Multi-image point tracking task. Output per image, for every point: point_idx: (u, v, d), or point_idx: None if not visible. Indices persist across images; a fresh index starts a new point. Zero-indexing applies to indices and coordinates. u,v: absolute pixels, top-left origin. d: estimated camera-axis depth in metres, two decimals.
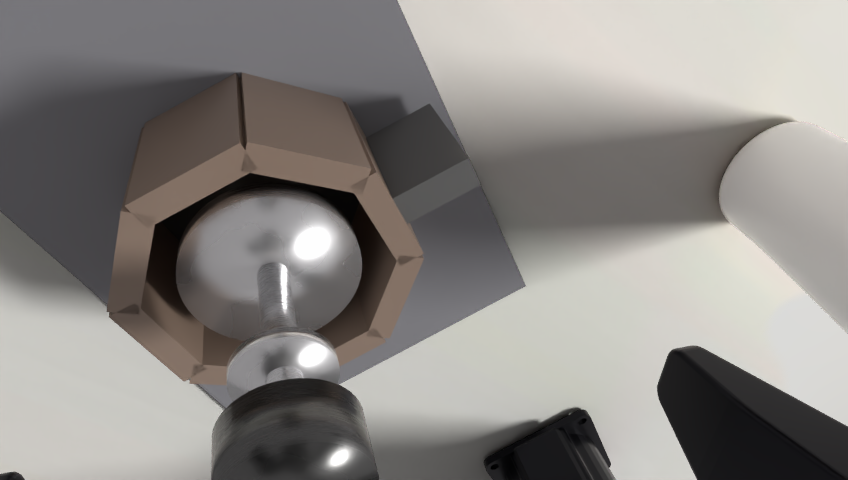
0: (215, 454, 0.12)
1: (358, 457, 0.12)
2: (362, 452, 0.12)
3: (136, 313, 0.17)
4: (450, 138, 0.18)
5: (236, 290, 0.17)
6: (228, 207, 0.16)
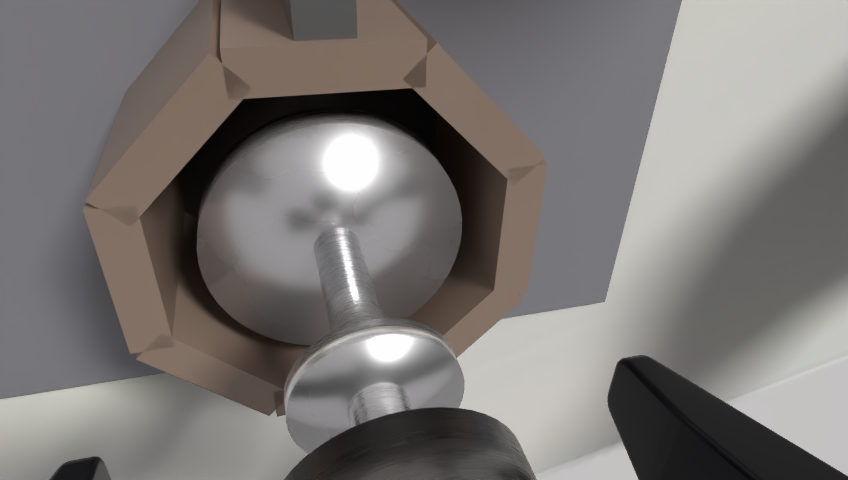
0: None
1: None
2: None
3: None
4: None
5: None
6: (198, 253, 0.11)
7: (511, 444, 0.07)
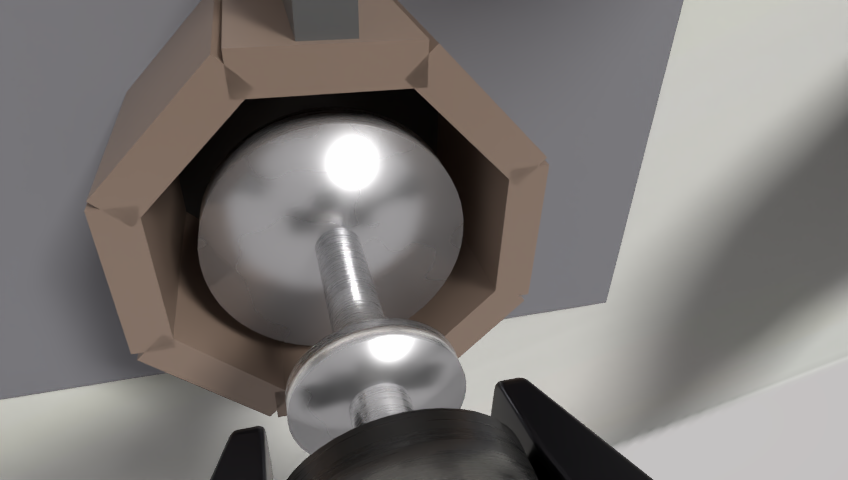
0: None
1: None
2: None
3: None
4: None
5: None
6: (199, 253, 0.11)
7: (513, 445, 0.07)
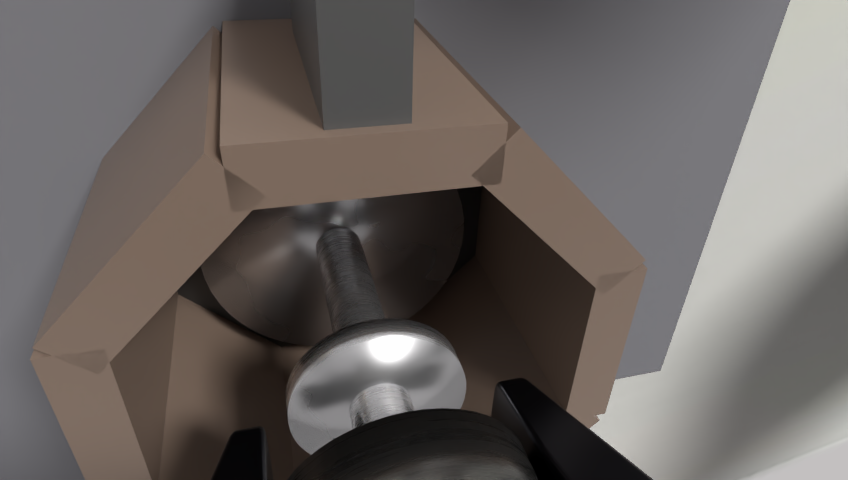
0: None
1: None
2: None
3: None
4: None
5: None
6: None
7: (513, 445, 0.07)
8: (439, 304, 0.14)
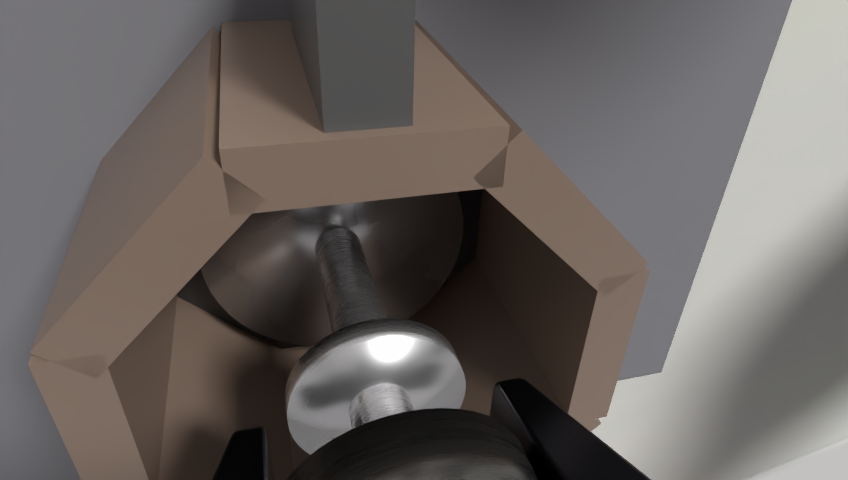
0: None
1: None
2: None
3: None
4: None
5: None
6: None
7: (513, 445, 0.07)
8: (439, 306, 0.14)
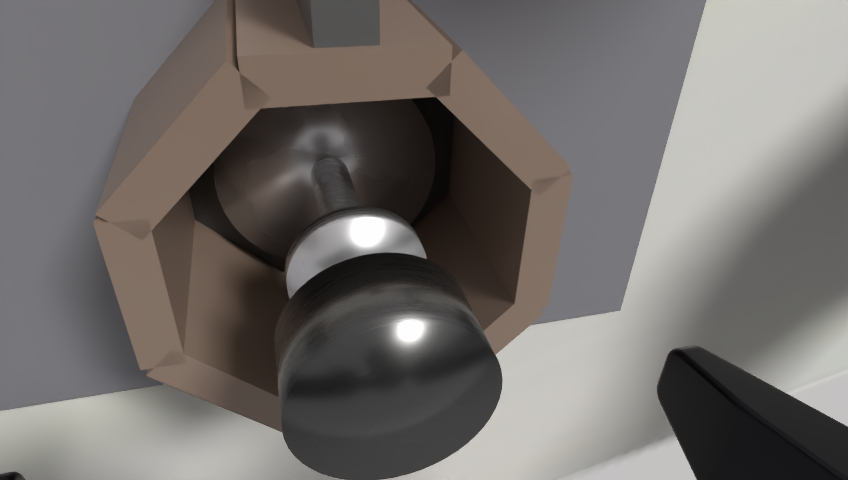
0: None
1: (381, 335, 0.08)
2: (375, 327, 0.08)
3: None
4: None
5: None
6: (215, 176, 0.14)
7: (454, 284, 0.09)
8: (418, 235, 0.17)
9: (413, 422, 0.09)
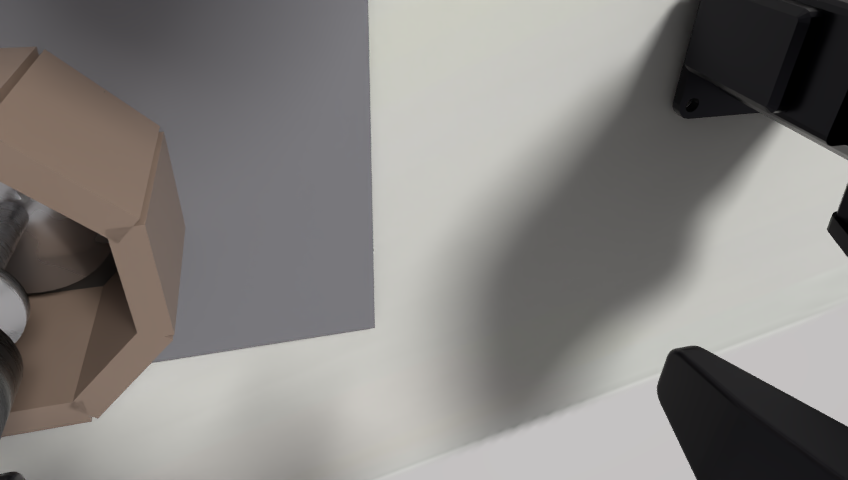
0: None
1: None
2: None
3: None
4: None
5: (18, 251, 0.17)
6: None
7: None
8: None
9: None
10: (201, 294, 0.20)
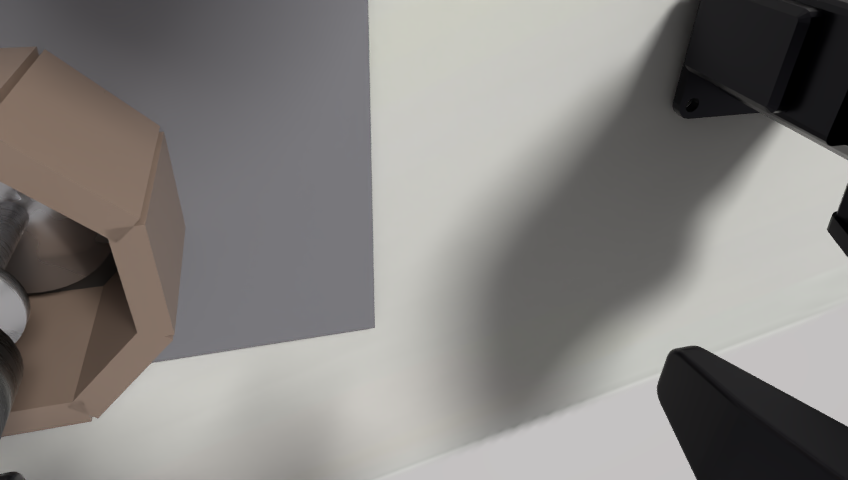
0: None
1: None
2: None
3: None
4: None
5: (18, 251, 0.17)
6: None
7: None
8: None
9: None
10: (201, 294, 0.20)
